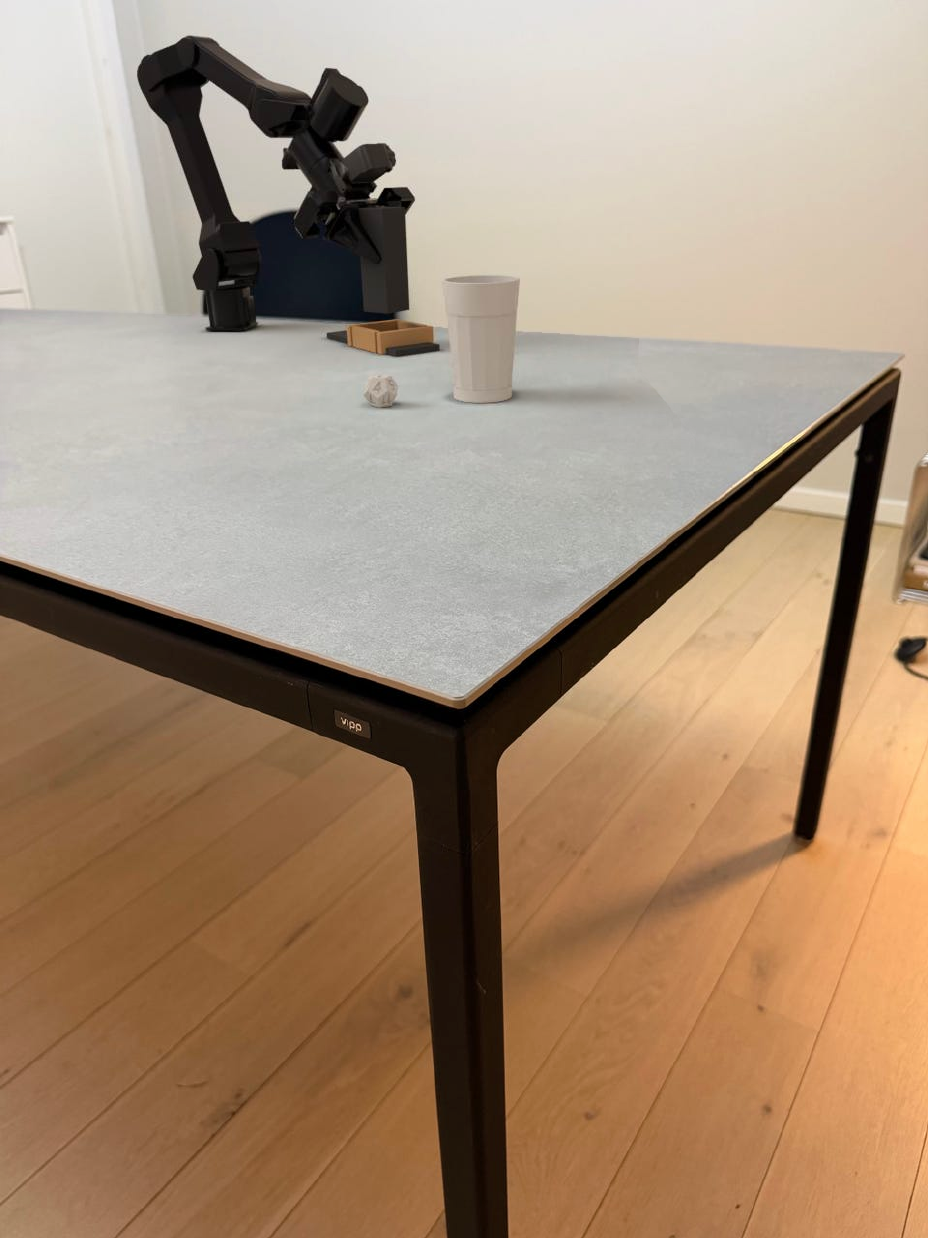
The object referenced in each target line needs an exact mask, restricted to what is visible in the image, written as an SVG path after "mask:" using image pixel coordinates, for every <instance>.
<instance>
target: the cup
mask: <svg viewBox="0 0 928 1238" xmlns="http://www.w3.org/2000/svg"><path fill="white" fill-rule="evenodd" d="M441 282H442V289H443V296H444V297H443V298H444V307H445V313H446V320H447V321H446V322H447V331H448V342H449V349H450V350H449V351H450V352H449V353H450V360H451V369H452V372H451V373H452V381H453V387H452V388H453V398H454V400H457V401H458V402H459V401H460V402H465V403H472V404H474V403H475V404H487V403H499V402H502V401H506V400H510V399H511V398H512V396H513V373H514V372H513V371H514V361H515V360H514V359H515V347H516V345H515V344H516V329H517V317H518V307H519V295H520V283H521V278H520V277H518V276H515V275H505V274H473V275H459V276H451V277H446V278H443V279H442V281H441Z"/></svg>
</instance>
